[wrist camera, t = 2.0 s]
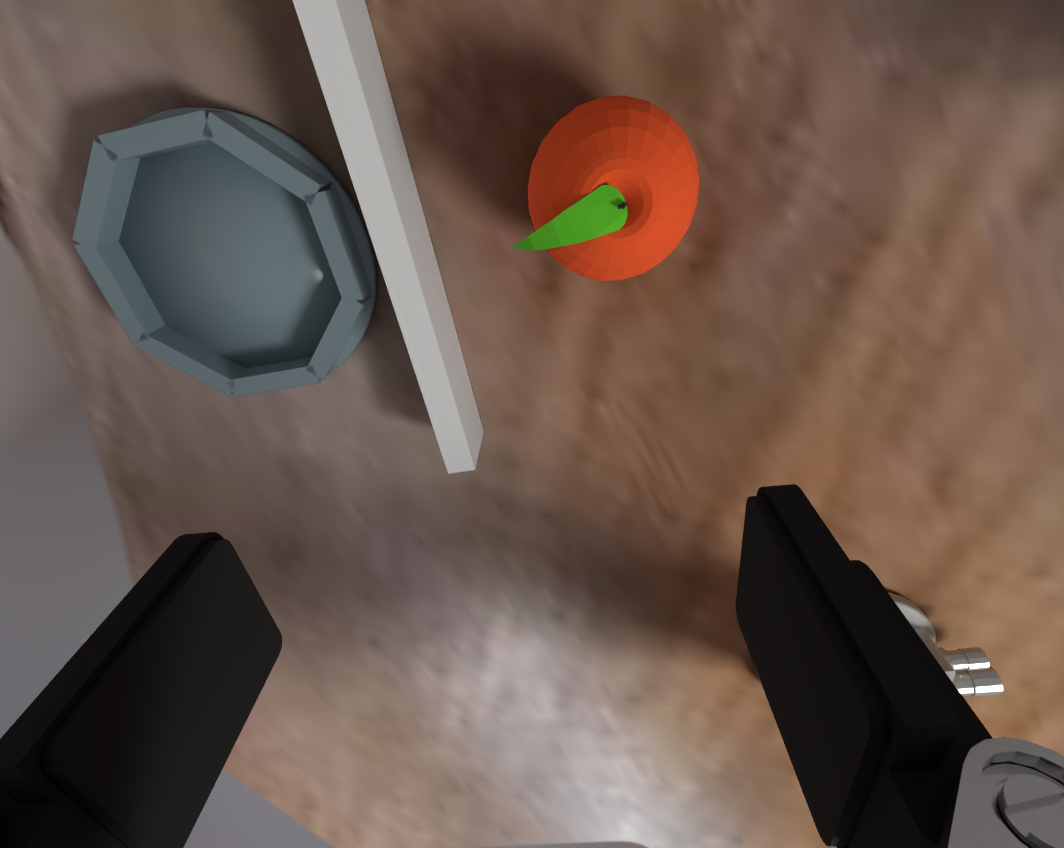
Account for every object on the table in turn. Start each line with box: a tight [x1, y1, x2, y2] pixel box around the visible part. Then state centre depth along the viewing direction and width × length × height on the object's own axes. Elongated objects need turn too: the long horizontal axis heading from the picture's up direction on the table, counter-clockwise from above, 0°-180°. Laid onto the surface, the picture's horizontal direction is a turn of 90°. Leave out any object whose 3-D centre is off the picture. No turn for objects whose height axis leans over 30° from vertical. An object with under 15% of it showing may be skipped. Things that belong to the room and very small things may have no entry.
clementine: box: [512, 96, 699, 281], centre depth 22 cm, size 8×7×7 cm
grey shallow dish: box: [72, 107, 378, 397], centre depth 26 cm, size 14×14×2 cm
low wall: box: [293, 0, 483, 474], centre depth 24 cm, size 2×24×4 cm, turn 11°
